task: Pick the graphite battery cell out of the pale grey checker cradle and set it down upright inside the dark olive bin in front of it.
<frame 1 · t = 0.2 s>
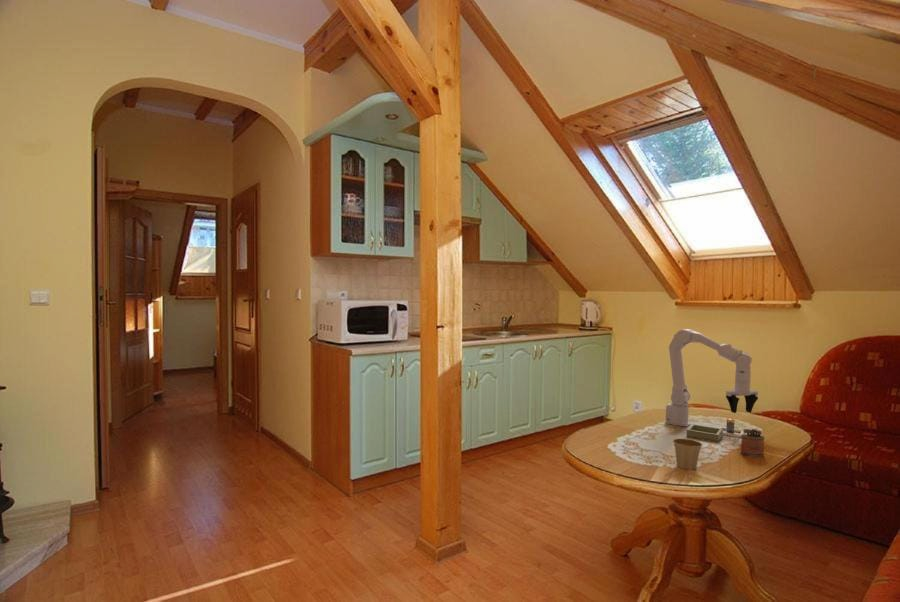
hand: (741, 412, 221), 10 cm above the table, tool pointing down, fingers open, 7 cm apart
flower pot: (686, 467, 178), on the table
lighter: (752, 456, 192), on the table
bin: (704, 436, 217), on the table
battery cell: (730, 426, 223), in the checker cradle
checker cradle: (730, 433, 223), on the table
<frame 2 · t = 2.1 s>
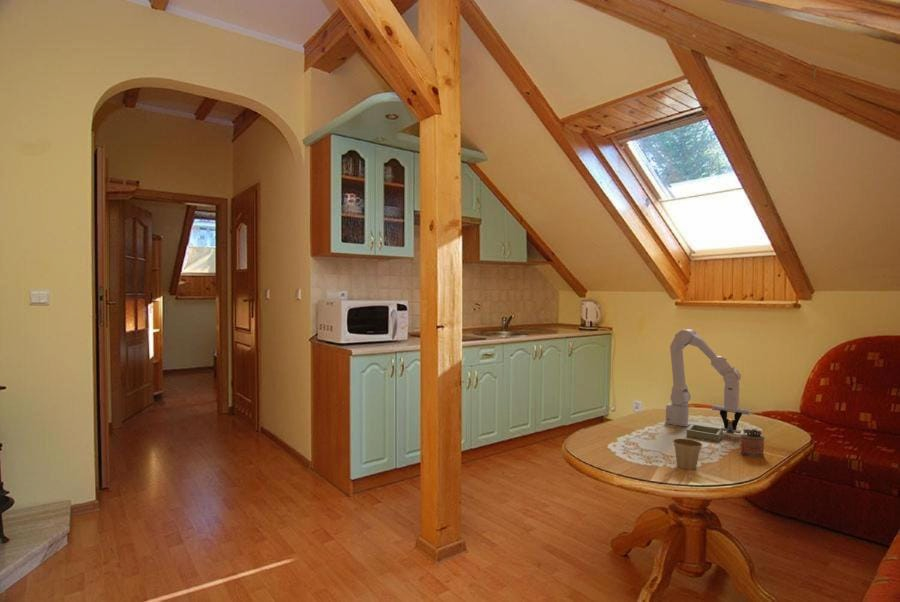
hand: (730, 428, 223), 2 cm above the table, tool pointing down, fingers closed on battery cell, 3 cm apart
battery cell: (730, 426, 223), in the checker cradle, touching gripper
everything else where it was.
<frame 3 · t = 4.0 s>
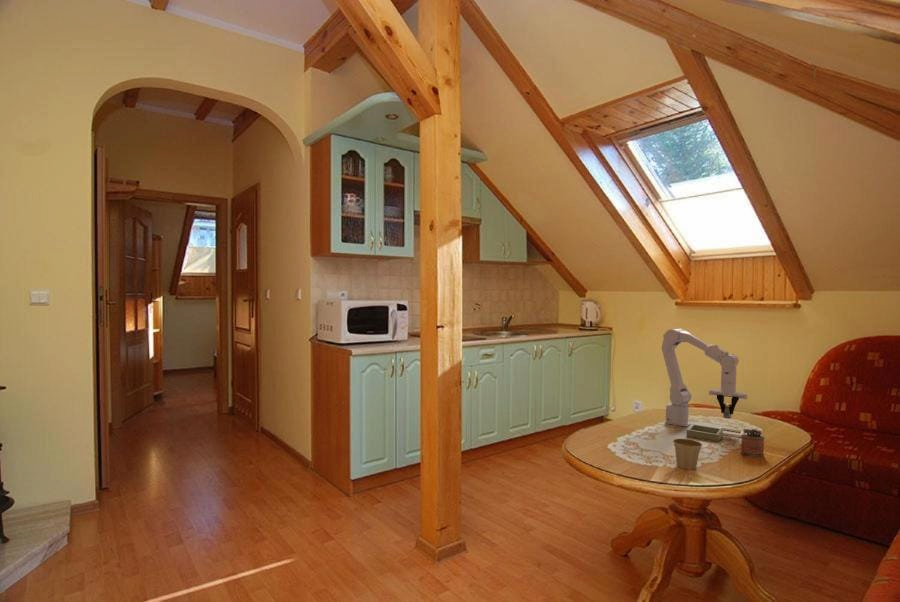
hand: (727, 413, 222), 9 cm above the table, tool pointing down, fingers closed on battery cell, 3 cm apart
battery cell: (727, 410, 222), point 10 cm above the table, touching gripper
everything else where it was.
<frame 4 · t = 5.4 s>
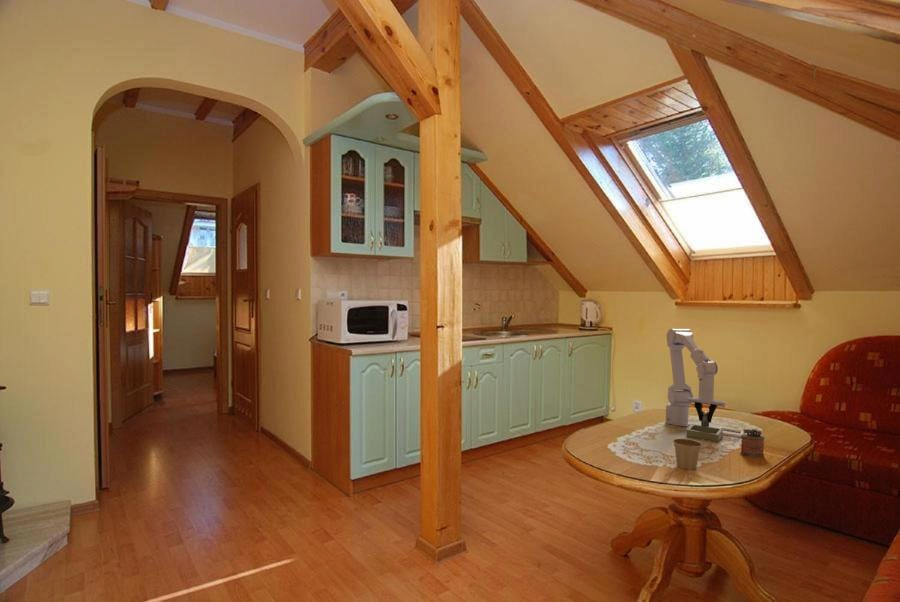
hand: (705, 421, 217), 6 cm above the table, tool pointing down, fingers closed on battery cell, 3 cm apart
battery cell: (705, 418, 217), point 8 cm above the table, touching gripper
everything else where it was.
when the fingers open (4 cm above the table, at t = 6.2 s): battery cell drops 1 cm, resting on bin.
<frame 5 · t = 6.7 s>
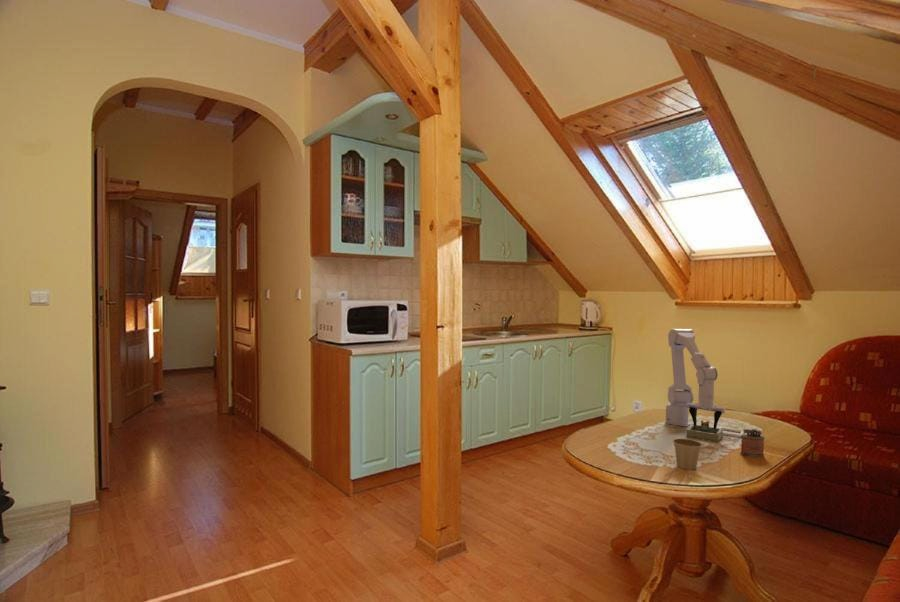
hand: (704, 427, 217), 4 cm above the table, tool pointing down, fingers open, 7 cm apart
battery cell: (704, 428, 217), in the bin
everything else where it was.
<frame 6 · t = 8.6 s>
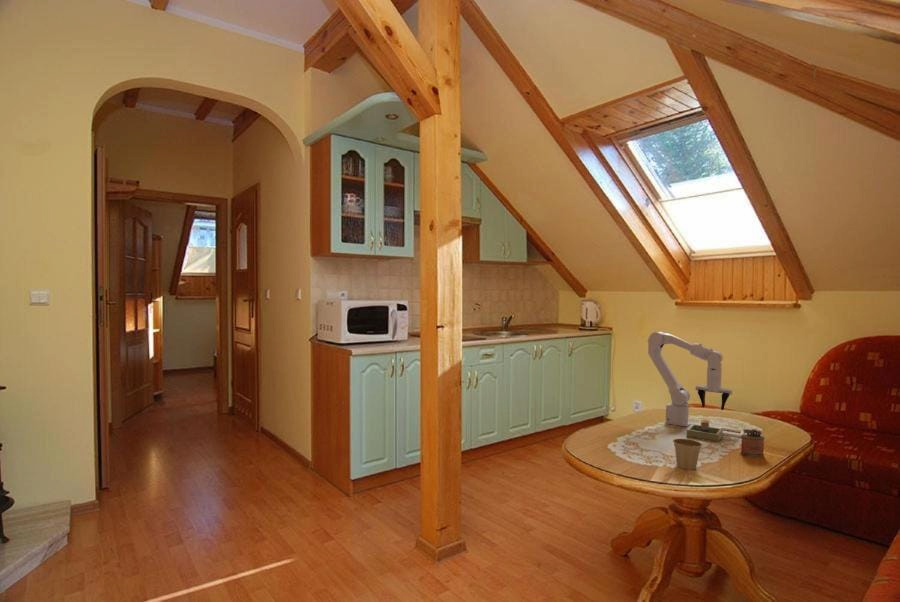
hand: (712, 408, 228), 9 cm above the table, tool pointing down, fingers open, 7 cm apart
nothing on the table moved.
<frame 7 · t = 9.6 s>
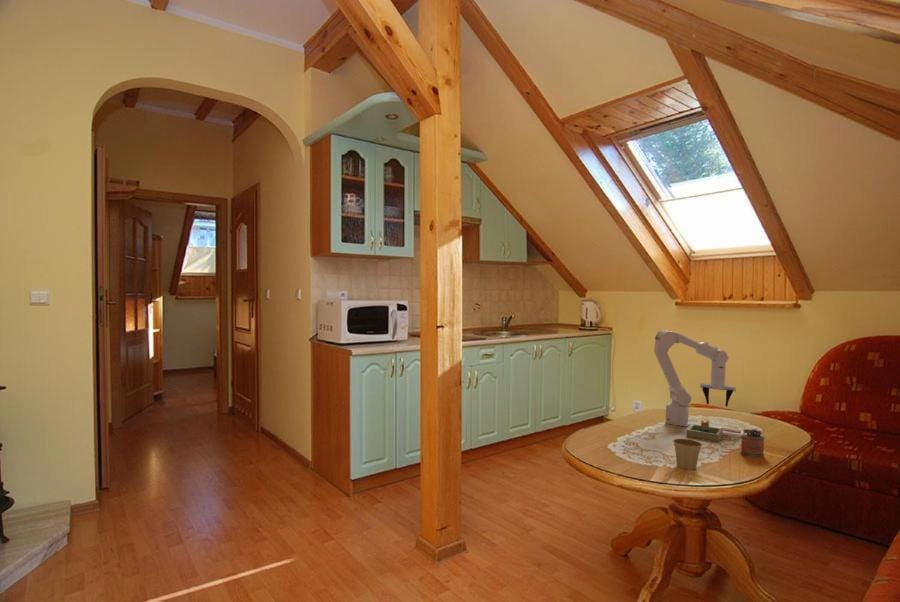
hand: (717, 405, 236), 9 cm above the table, tool pointing down, fingers open, 7 cm apart
nothing on the table moved.
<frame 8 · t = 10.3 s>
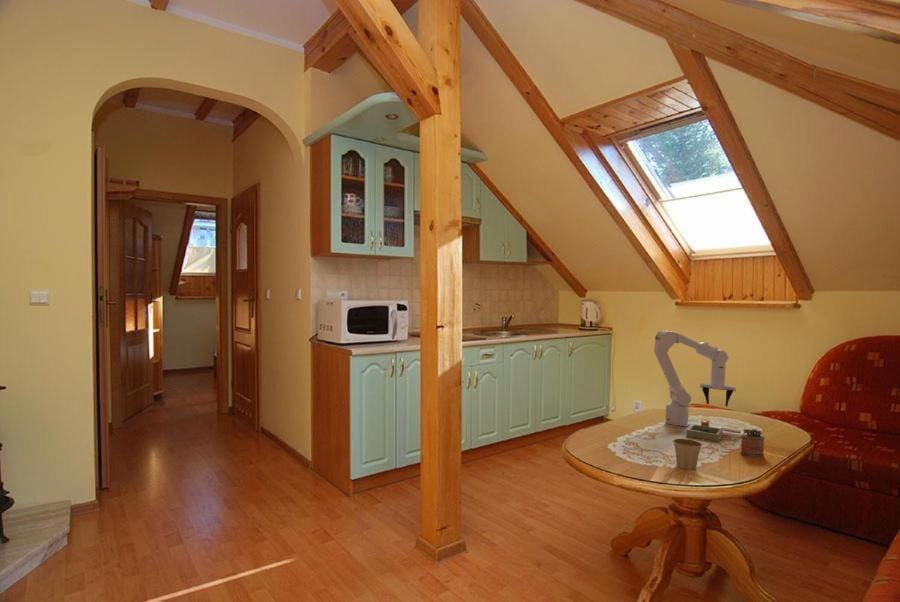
hand: (717, 405, 236), 9 cm above the table, tool pointing down, fingers open, 7 cm apart
nothing on the table moved.
at the end: battery cell inside the target area on the bin (0.1 cm from its centre), point 3.5 cm above the bin's base; battery cell tilted 1°; the gripper is holding nothing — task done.
